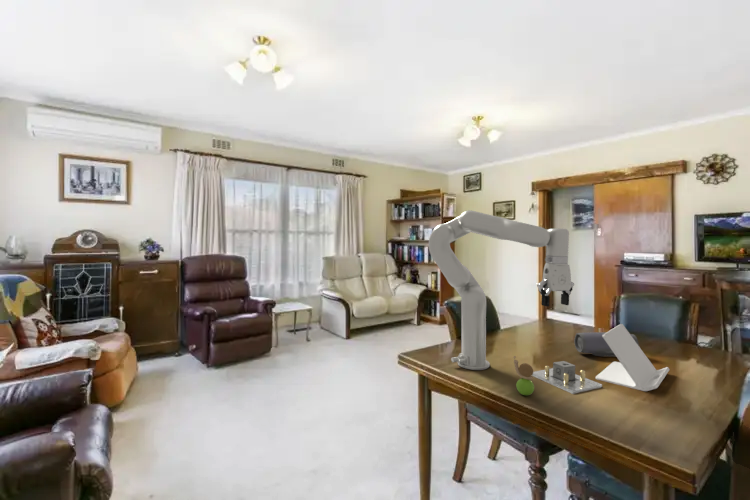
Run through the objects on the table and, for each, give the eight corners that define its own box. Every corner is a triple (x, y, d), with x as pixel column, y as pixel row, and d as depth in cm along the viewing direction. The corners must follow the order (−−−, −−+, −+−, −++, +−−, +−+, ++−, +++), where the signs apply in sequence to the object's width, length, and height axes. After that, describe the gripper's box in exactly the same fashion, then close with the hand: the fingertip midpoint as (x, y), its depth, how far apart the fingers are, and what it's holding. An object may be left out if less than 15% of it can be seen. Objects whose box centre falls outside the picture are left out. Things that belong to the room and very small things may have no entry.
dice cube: (564, 381, 126) (564, 367, 126) (553, 376, 131) (553, 362, 131) (575, 379, 128) (575, 365, 127) (563, 374, 132) (564, 360, 132)
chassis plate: (572, 393, 118) (572, 380, 118) (530, 374, 135) (530, 363, 135) (602, 387, 123) (602, 374, 123) (557, 369, 140) (557, 358, 140)
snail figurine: (516, 389, 122) (516, 354, 122) (536, 394, 118) (536, 358, 118) (510, 394, 118) (511, 358, 118) (531, 399, 114) (531, 362, 114)
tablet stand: (594, 379, 131) (595, 333, 130) (613, 363, 148) (614, 322, 147) (657, 395, 117) (658, 343, 117) (669, 375, 135) (670, 330, 134)
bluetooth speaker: (626, 352, 161) (627, 330, 160) (639, 359, 152) (640, 336, 151) (573, 351, 163) (573, 329, 163) (583, 358, 154) (583, 334, 153)
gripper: (546, 261, 130) (545, 308, 131) (582, 261, 136) (580, 306, 137) (531, 260, 137) (529, 304, 138) (565, 260, 143) (564, 302, 144)
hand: (555, 305), depth 137 cm, fingers open, 9 cm apart
